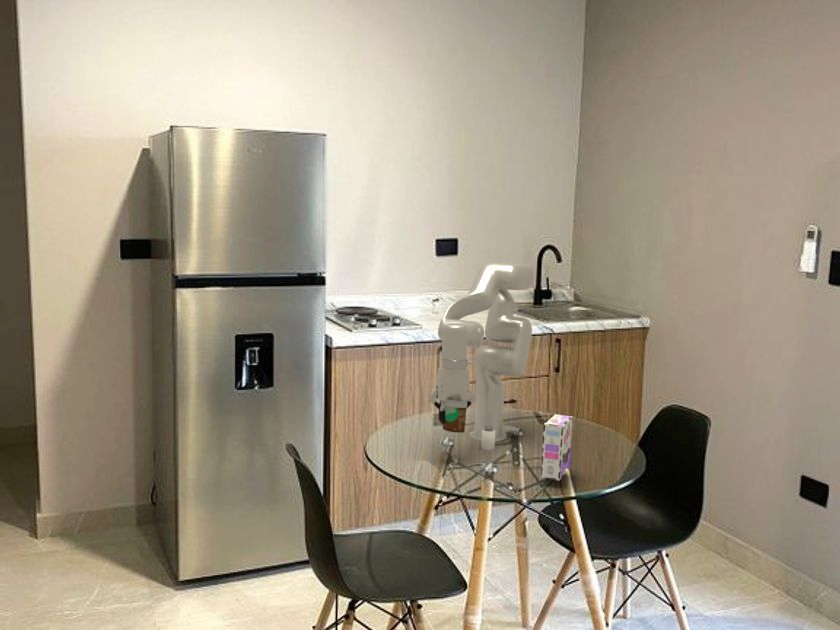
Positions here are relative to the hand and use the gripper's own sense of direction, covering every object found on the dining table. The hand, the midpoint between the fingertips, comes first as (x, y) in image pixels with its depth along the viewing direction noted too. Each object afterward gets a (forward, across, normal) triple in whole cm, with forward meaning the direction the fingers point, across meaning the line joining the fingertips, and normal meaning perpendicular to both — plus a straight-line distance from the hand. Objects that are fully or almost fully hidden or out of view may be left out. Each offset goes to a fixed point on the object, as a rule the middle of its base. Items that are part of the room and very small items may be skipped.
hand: (451, 422), depth 261 cm
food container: (+2, +1, 0) cm, 2 cm away
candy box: (+13, -28, +16) cm, 35 cm away
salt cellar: (+12, -16, -12) cm, 24 cm away
